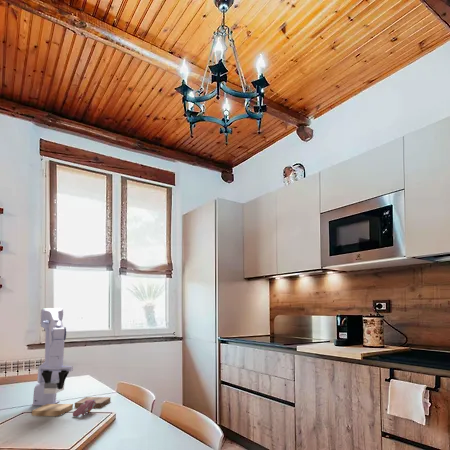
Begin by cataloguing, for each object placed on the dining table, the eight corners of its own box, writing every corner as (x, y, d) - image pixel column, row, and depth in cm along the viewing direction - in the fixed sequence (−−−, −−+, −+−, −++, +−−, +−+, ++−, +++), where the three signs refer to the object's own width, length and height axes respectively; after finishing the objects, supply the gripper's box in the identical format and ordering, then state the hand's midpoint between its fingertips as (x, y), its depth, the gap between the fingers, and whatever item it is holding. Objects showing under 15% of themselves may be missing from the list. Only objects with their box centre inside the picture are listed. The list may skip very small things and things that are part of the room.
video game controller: (79, 421, 167) (87, 405, 168) (70, 415, 168) (78, 399, 169) (92, 415, 177) (99, 400, 177) (83, 410, 178) (91, 394, 179)
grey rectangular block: (43, 393, 174) (44, 383, 175) (52, 389, 182) (53, 380, 183) (55, 393, 174) (56, 383, 175) (64, 389, 182) (64, 380, 183)
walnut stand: (74, 407, 184) (74, 402, 184) (85, 401, 196) (85, 397, 196) (100, 407, 183) (101, 403, 183) (110, 401, 195) (110, 397, 195)
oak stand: (31, 415, 171) (32, 410, 171) (46, 408, 183) (46, 403, 183) (59, 416, 170) (60, 410, 171) (72, 408, 182) (72, 404, 182)
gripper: (35, 357, 178) (33, 390, 175) (68, 357, 177) (66, 390, 174) (43, 355, 184) (41, 387, 182) (75, 355, 183) (73, 387, 181)
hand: (54, 388), depth 178 cm, fingers closed on grey rectangular block, 5 cm apart
